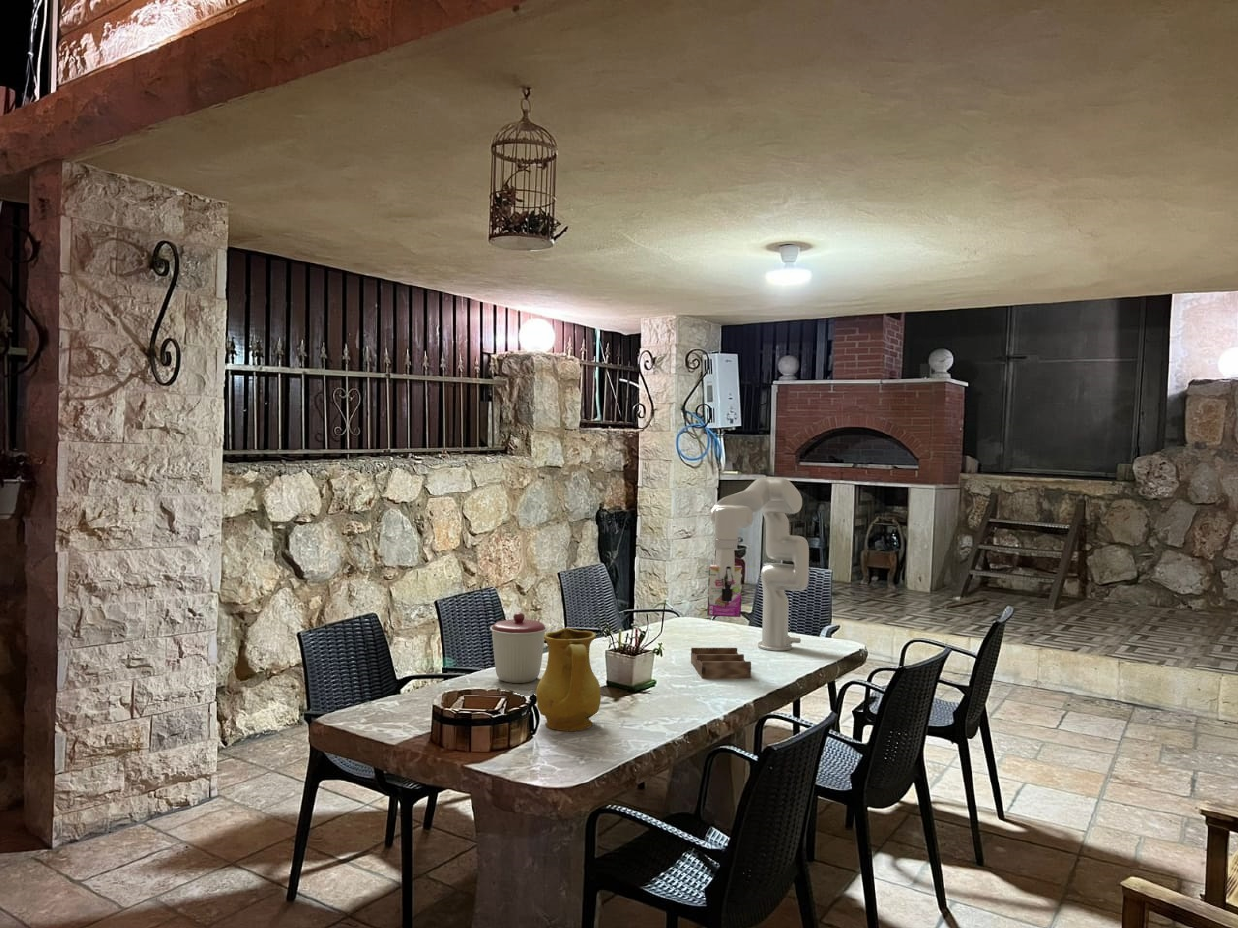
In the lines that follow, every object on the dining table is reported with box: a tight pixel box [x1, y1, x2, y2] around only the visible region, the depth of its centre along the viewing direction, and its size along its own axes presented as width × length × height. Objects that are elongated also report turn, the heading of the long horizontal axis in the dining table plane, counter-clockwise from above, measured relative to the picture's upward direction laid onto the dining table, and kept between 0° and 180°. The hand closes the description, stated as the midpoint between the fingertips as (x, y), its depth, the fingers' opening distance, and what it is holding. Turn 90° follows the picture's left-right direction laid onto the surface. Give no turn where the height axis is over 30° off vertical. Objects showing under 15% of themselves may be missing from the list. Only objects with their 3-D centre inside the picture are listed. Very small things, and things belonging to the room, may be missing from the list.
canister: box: [489, 612, 548, 684], centre depth 279 cm, size 18×18×21 cm
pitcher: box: [535, 627, 602, 732], centre depth 234 cm, size 17×19×25 cm
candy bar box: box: [706, 564, 743, 618], centre depth 291 cm, size 11×5×16 cm, turn 84°
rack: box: [690, 647, 752, 679], centre depth 296 cm, size 16×21×5 cm
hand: (724, 598), depth 291 cm, fingers closed on candy bar box, 5 cm apart
